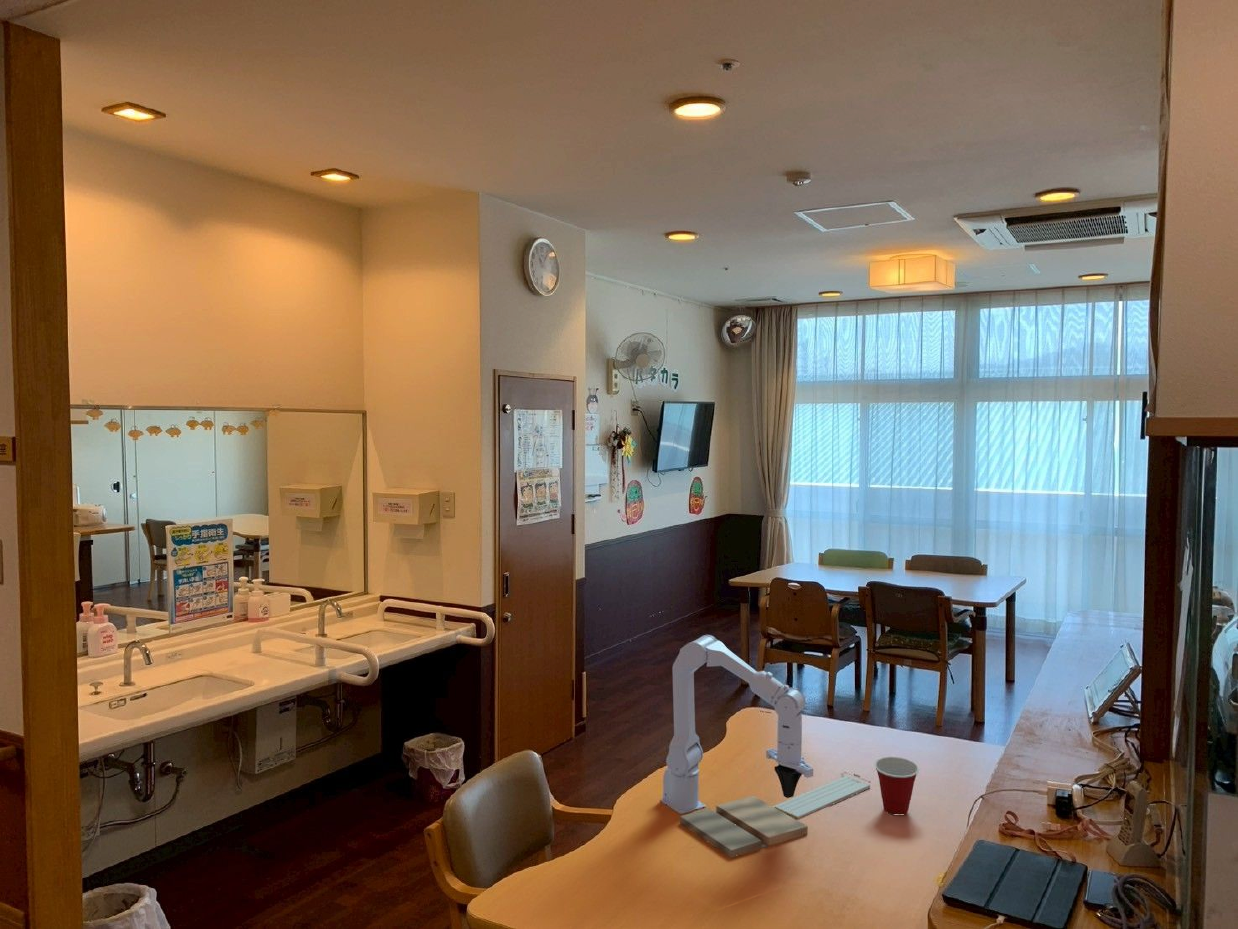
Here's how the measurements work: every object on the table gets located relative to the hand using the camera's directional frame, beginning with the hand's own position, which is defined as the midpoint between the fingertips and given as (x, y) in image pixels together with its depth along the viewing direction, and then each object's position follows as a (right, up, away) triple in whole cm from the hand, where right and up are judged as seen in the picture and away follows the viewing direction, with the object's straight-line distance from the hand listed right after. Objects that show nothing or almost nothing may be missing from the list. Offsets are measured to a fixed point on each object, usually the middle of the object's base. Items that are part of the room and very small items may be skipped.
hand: (788, 796), depth 217 cm
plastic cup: (+29, -8, +11) cm, 32 cm away
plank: (-6, -8, +4) cm, 11 cm away
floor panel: (-17, -9, -3) cm, 19 cm away
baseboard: (+12, -8, +20) cm, 24 cm away
